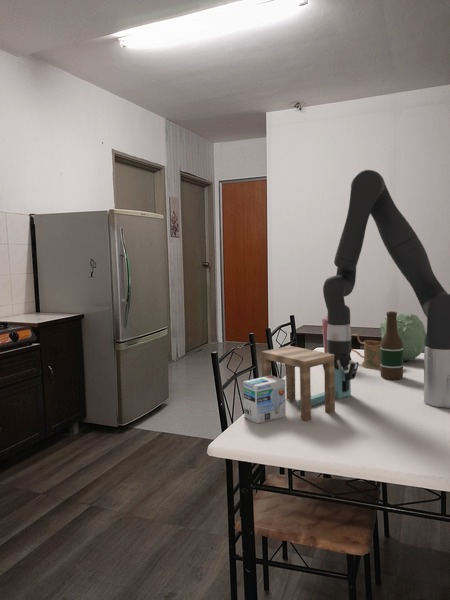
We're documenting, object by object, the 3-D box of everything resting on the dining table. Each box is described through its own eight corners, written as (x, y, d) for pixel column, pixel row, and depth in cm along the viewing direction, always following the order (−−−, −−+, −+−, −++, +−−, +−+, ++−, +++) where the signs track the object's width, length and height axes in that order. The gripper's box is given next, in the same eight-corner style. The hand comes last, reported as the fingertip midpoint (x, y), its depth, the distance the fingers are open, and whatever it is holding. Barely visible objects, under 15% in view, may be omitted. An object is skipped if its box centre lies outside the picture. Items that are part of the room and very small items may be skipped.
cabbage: (423, 366, 183) (424, 316, 181) (374, 361, 194) (374, 314, 191) (431, 358, 196) (431, 311, 194) (384, 354, 207) (384, 309, 204)
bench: (334, 411, 136) (334, 354, 135) (306, 421, 129) (305, 361, 128) (291, 397, 151) (289, 345, 149) (262, 406, 144) (261, 351, 142)
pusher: (340, 392, 155) (340, 365, 154) (350, 394, 151) (350, 367, 151) (295, 406, 142) (295, 377, 141) (305, 409, 139) (304, 380, 138)
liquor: (330, 369, 185) (329, 298, 182) (319, 365, 191) (318, 297, 188) (345, 366, 188) (344, 297, 185) (333, 362, 194) (333, 295, 191)
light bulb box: (257, 424, 129) (256, 386, 128) (243, 417, 135) (242, 380, 133) (287, 415, 135) (286, 379, 134) (272, 409, 140) (271, 374, 139)
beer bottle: (379, 379, 168) (379, 313, 165) (381, 374, 175) (381, 310, 172) (402, 381, 165) (403, 313, 162) (403, 375, 172) (403, 310, 169)
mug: (353, 359, 199) (353, 331, 198) (395, 364, 189) (395, 334, 188) (342, 365, 190) (342, 336, 189) (386, 370, 180) (386, 339, 178)
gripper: (314, 336, 153) (315, 387, 155) (349, 342, 141) (350, 397, 143) (329, 333, 157) (330, 383, 159) (365, 339, 146) (365, 392, 148)
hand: (339, 389), depth 151 cm, fingers closed on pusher, 4 cm apart
